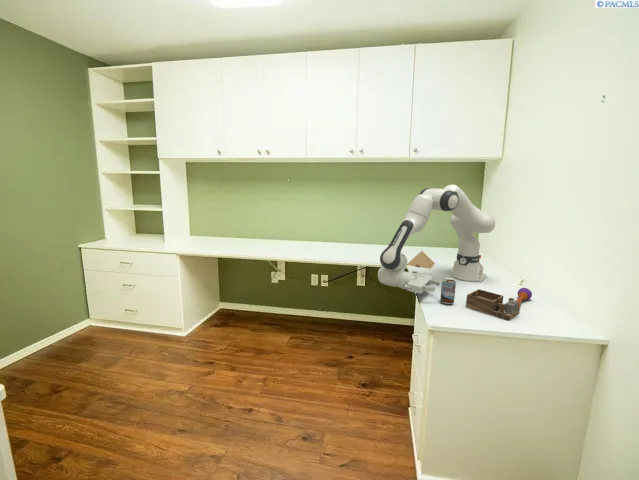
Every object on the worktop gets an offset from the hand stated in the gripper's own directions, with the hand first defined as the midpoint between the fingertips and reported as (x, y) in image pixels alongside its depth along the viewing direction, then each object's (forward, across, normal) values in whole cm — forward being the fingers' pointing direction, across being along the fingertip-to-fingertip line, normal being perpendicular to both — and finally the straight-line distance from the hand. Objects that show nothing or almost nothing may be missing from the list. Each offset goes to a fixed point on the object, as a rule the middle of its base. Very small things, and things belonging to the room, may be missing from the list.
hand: (437, 286), depth 150 cm
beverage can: (+5, 0, +7) cm, 9 cm away
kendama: (+34, +22, +8) cm, 41 cm away
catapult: (+23, +3, +7) cm, 25 cm away
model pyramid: (-27, +62, +8) cm, 68 cm away
